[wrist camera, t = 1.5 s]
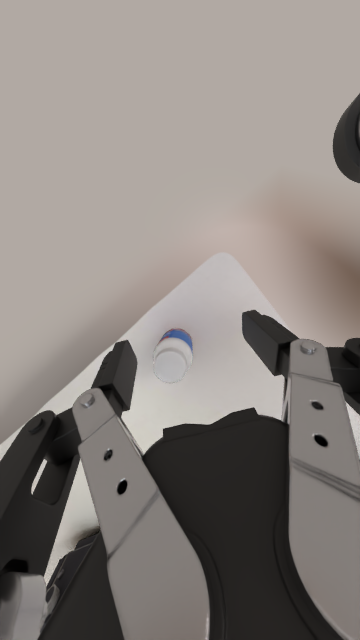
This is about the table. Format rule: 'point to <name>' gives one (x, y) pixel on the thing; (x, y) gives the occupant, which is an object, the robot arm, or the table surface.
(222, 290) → the table surface
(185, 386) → the table surface
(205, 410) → the table surface
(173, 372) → the pill bottle
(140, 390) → the table surface
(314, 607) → the robot arm
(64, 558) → the camera
